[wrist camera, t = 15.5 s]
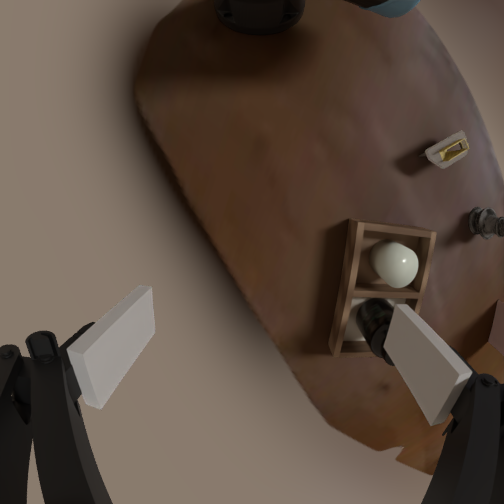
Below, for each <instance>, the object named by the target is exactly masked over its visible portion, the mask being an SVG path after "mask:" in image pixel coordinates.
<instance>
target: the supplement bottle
mask: <svg viewBox="0 0 504 504" xmlns="http://www.w3.org/2000/svg"><path fill="white" fill-rule="evenodd" d="M394 309H395V308H394V307H393V306H392V305H391V304H390V303H389V302H388V301H387V300H386V299H384V298H371V299H369V300H367V301H366V302H364V303H363V304H362V305H361V306H360V308H359V310H358V312H357V314H356V324H357V326H358V328H359V330H360V332H361V334H362V335H363V337H364V339H365V341H366V342H367V344H368V346H369V348H370V349H371V351H372V352H373V354H374V355H376V356H377V357H380V358H383V359H384V360H385V361H386V363H388V364H389V365H392V366H395V364H394V363H393V361H392V360H391V358H390V356H389V355H388V353H387V352H386V350H385V349H384V343H385V340H386V337H387V334H388V330H389V327H390V323H391V320H392V316H393V312H394Z"/></svg>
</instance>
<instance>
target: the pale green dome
mask: <svg viewBox="0 0 504 504" xmlns="http://www.w3.org/2000/svg"><path fill="white" fill-rule="evenodd" d="M369 264H370V267H371V269H372V270H373V271H374V272H375V273H376V274H377V275H378V276H380V277H381V278H382V279H383V280H384V281H385V282H386V283H387V284H389V285H390V286H391V287H394V288H402V287H405V286H407V285H408V284H409V283H411V281H412V280H413V279H414V278H415V276H416V274H417V271H418V258H417V256H416V254H415V253H414V252H413V251H412V250H411V249H409V248H407V247H405V246H403V245H401V244H399V243H397V242H395V241H393V240H391V239H384V240H381V241H379V242H377V243H376V244H375V245H374V246H373V248H372V249H371V252H370V255H369Z"/></svg>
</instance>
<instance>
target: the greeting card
mask: <svg viewBox="0 0 504 504" xmlns="http://www.w3.org/2000/svg"><path fill="white" fill-rule="evenodd" d="M488 342H489V343H490V344H491V345H493V346H494V347H495V348H496V349H497V350H498V351H499V352H500V353H501V354H503V355H504V303H503V302H501V301H500V300H498V302H497V307H496V312H495V316H494V321H493V325H492V329H491V333H490V336H489V340H488Z"/></svg>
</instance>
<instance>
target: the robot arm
mask: <svg viewBox="0 0 504 504" xmlns="http://www.w3.org/2000/svg"><path fill="white" fill-rule="evenodd" d="M344 1H347V2H349V3H352V4H355V5H357V6H359V7H360V8H361V9H364V10H370V11H372V12H375V13H377V14H380V15H382V16H385V17H389V18H392V17H400V16H402V15H404V14H406V13H408V12H409V11H410V10H412V9H413V8H414V7H415V6H416V5H417V4H418V3H419V2H420V0H344ZM214 6H215V10H216V13H217V16H218V18H219V19H220V20H221V22H222V23H223V24H225V25H226V26H227V27H229V28H231V29H233V30H235V31H238V32H241V33H245V34H252V35H267V34H274V33H278V32H281V31H284V30H286V29H288V28H290V27H292V26H293V25H295V24H296V23H297V22H298V21H299V20H300V18H301V17H302V15H303V12H304V7H305V0H214ZM154 333H155V321H154V310H153V297H152V287H149V286H141V285H139V286H138V287H137V288H135V289H134V290H133V291H132V292H131V293H129V294H128V295H127V296H126V297H125V298H123V299H122V300H121V301H120V302H119V303H118V304H116V305H115V306H114V307H113V308H112V309H111V310H110V311H108V312H107V313H106V314H105V315H104V316H103V317H102V318H101V319H99V320H98V321H97V322H96V323H95V322H92V323H89V324H87V325H85V326H83V327H82V328H81V329H80V330H79V331H78V332H77V333H75V334H74V335H73V336H72V337H71V338H69V339H68V340H67V341H66V342H65V343H64V344H63V345H61V346H60V347H58V344H57V340H56V337H55V335H54V334H53V333H52V332H50V331H38V332H35V333H33V334H31V335H29V336H28V337H27V339H26V341H25V342H26V345H27V348H28V351H29V353H30V357H31V358H30V357H22V355H21V353H20V350H19V348H18V347H17V346H16V345H5V346H4V345H3V346H2V347H0V504H27V480H28V469H29V460H30V452H31V445H32V439H33V442H34V451H35V458H36V464H37V470H38V475H39V481H40V485H41V490H42V494H43V498H44V502H45V504H113V503H112V501H111V499H110V497H109V494H108V492H107V490H106V487H105V485H104V482H103V480H102V477H101V475H100V472H99V470H98V467H97V464H96V461H95V458H94V455H93V452H92V449H91V446H90V443H89V440H88V436H87V433H86V429H85V425H84V422H83V418H82V414H81V409H80V406H79V403H78V400H77V399H78V398H79V397H80V395H81V394H82V396H83V398H84V401H85V403H86V404H87V405H89V406H92V407H95V408H98V409H100V410H101V409H102V408H103V406H104V405H105V403H106V402H107V400H108V399H109V397H110V396H111V394H112V393H113V391H114V390H115V389H116V387H117V386H118V384H119V383H120V381H121V380H122V378H123V377H124V375H125V374H126V373H127V371H128V370H129V368H130V367H131V365H132V364H133V363H134V361H135V360H136V358H137V357H138V356H139V354H140V353H141V351H142V350H143V349H144V347H145V346H146V344H147V343H148V341H149V340H150V339H151V337H152V336H153V334H154ZM384 349H385V350H386V352H387V353H388V355H389V356H390V358H391V360H392V361H393V363H394V364H395V366H396V368H397V369H398V371H399V373H400V374H401V376H402V377H403V379H404V381H405V382H406V384H407V386H408V387H409V389H410V391H411V392H412V394H413V396H414V397H415V399H416V401H417V403H418V404H419V406H420V408H421V410H422V411H423V413H424V415H425V417H426V418H427V420H428V422H429V424H430V426H432V425H436V424H440V423H443V422H444V421H445V420H446V418H447V417H448V415H449V413H450V412H451V414H452V415H453V419H452V420H451V422H450V423H449V425H448V426H447V428H446V429H445V431H444V432H443V434H442V435H443V436H444V435H445V433H446V432H447V436H446V439H445V443H444V446H443V449H442V452H441V455H440V458H439V461H438V464H437V467H436V470H435V472H434V475H433V478H432V480H431V482H430V485H429V487H428V490H427V492H426V494H425V497H424V499H423V501H422V503H421V504H504V384H499V382H498V380H497V379H496V378H495V377H493V376H491V375H489V374H484V373H483V374H479V375H478V374H477V372H476V371H475V370H474V369H473V368H472V367H471V366H470V365H469V364H468V363H467V362H466V361H464V358H463V357H462V356H460V354H459V353H458V352H457V351H456V350H455V349H454V348H452V347H451V346H449V345H447V344H446V343H445V342H444V341H443V340H442V339H441V338H440V337H439V336H438V335H437V334H436V332H435V331H434V330H433V329H432V328H431V327H430V326H429V325H428V324H427V323H426V322H425V321H424V320H423V319H422V318H420V317H419V316H418V315H417V314H416V313H415V312H414V311H413V310H412V309H411V308H410V307H409V306H408V305H407V304H396V305H395V309H394V312H393V316H392V320H391V323H390V327H389V330H388V334H387V337H386V340H385V343H384ZM11 395H12V397H11Z"/></svg>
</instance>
